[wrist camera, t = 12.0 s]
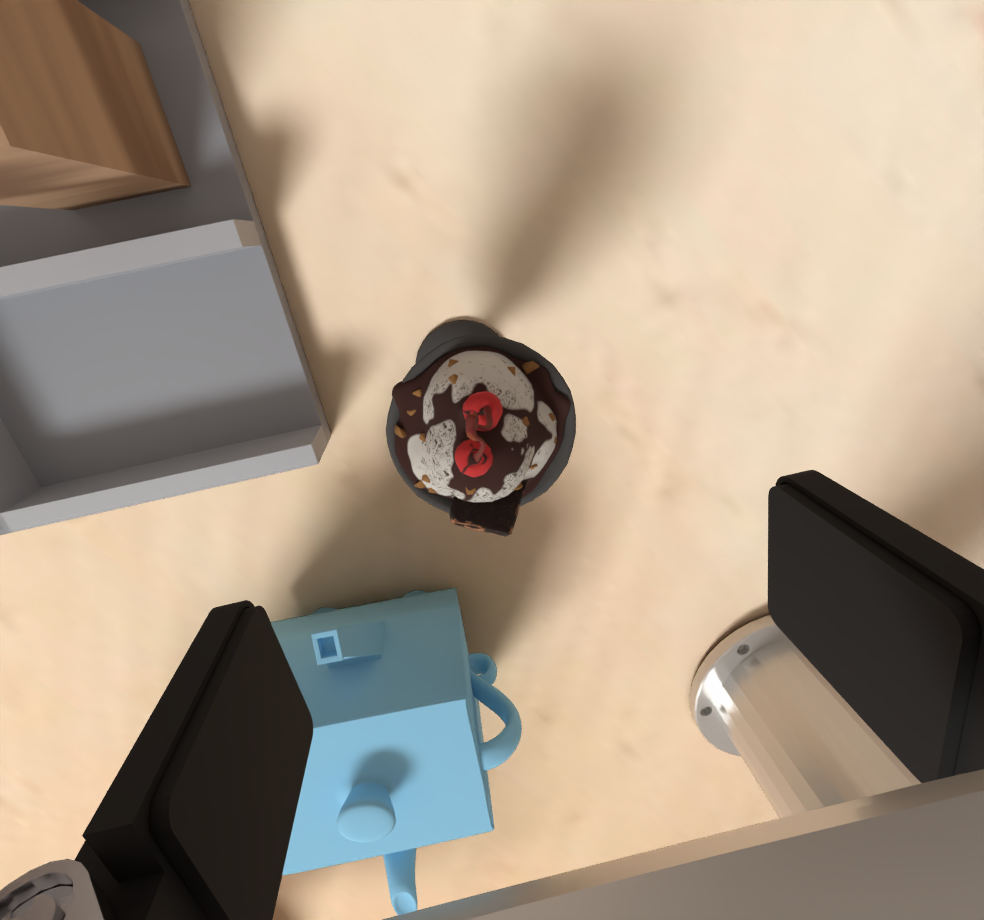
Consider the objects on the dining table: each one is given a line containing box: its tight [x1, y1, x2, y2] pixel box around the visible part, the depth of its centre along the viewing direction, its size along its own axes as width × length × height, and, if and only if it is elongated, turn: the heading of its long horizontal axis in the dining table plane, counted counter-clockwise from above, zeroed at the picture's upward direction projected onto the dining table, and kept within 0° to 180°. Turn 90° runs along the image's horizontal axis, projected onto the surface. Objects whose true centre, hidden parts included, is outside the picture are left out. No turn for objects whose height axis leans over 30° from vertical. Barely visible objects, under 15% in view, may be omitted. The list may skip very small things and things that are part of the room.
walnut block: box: [0, 0, 191, 210], centre depth 17 cm, size 5×5×11 cm
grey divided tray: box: [0, 0, 331, 535], centre depth 23 cm, size 15×20×4 cm
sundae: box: [386, 320, 576, 536], centre depth 22 cm, size 7×7×15 cm
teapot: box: [271, 588, 522, 915], centre depth 30 cm, size 16×18×11 cm
